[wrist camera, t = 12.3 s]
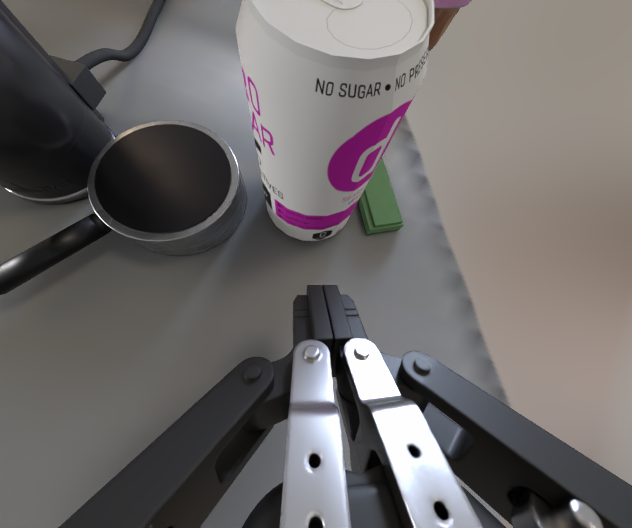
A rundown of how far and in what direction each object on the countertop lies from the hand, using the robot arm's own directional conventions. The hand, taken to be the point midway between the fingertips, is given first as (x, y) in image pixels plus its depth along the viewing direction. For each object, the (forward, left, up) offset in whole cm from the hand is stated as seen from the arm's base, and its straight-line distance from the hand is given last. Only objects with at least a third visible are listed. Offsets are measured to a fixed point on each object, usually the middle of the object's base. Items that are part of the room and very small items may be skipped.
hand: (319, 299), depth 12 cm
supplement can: (-10, +2, -8) cm, 13 cm away
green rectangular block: (-10, +9, -8) cm, 16 cm away
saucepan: (-10, -13, -8) cm, 18 cm away
